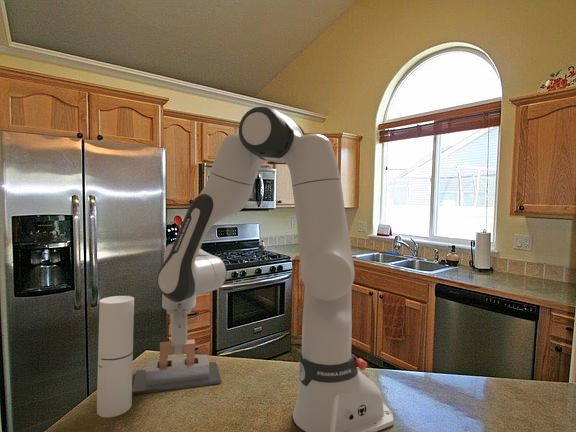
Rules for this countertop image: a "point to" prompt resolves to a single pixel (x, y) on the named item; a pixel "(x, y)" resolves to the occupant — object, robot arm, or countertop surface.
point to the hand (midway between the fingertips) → (177, 350)
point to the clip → (168, 349)
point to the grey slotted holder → (176, 375)
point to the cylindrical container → (115, 355)
